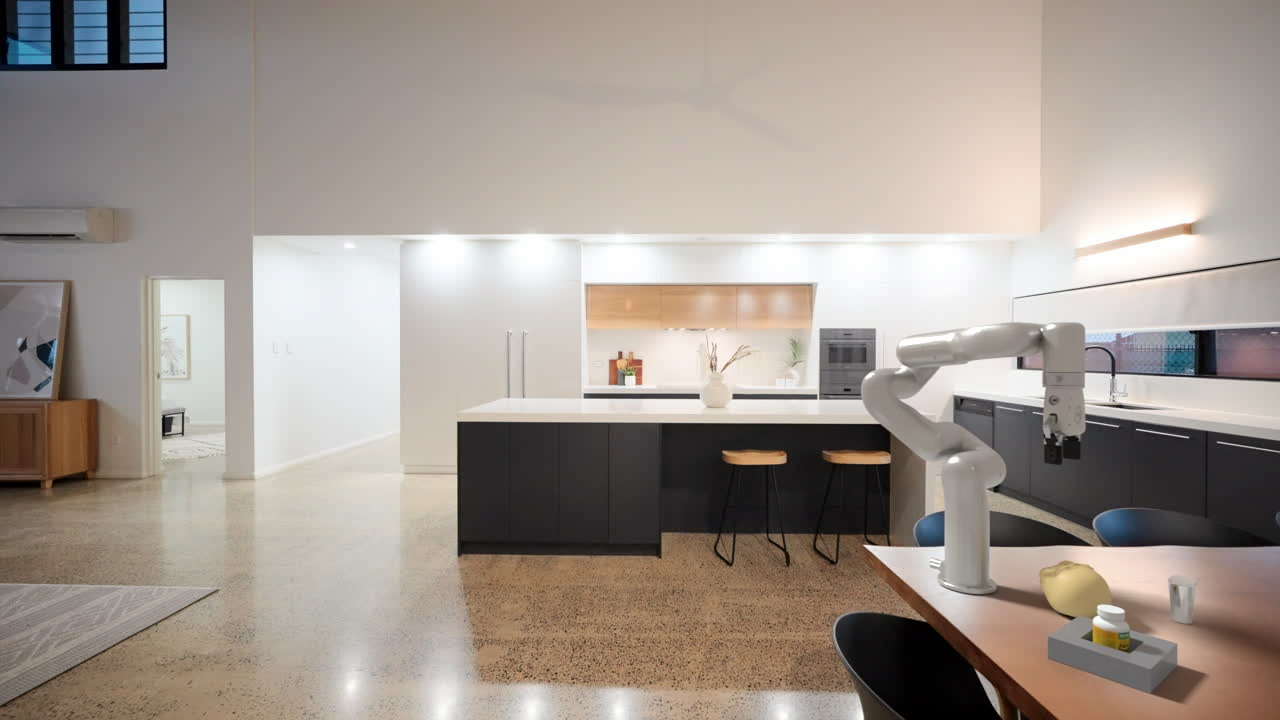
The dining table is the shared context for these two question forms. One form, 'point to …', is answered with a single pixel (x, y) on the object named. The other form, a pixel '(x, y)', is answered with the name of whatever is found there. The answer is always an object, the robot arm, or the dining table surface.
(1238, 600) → the dining table surface
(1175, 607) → the milkshake
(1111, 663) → the socket block
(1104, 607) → the supplement bottle
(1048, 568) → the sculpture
